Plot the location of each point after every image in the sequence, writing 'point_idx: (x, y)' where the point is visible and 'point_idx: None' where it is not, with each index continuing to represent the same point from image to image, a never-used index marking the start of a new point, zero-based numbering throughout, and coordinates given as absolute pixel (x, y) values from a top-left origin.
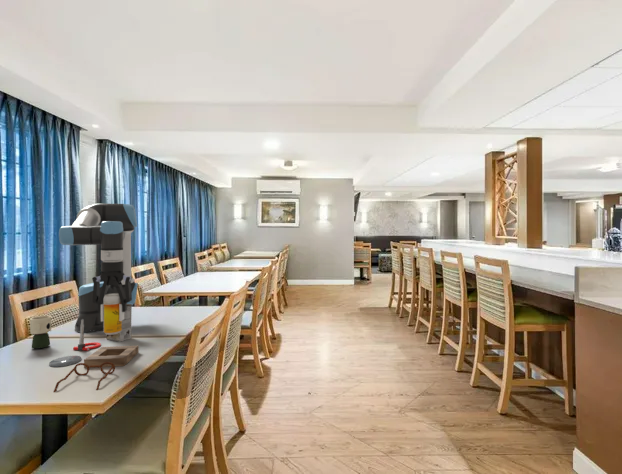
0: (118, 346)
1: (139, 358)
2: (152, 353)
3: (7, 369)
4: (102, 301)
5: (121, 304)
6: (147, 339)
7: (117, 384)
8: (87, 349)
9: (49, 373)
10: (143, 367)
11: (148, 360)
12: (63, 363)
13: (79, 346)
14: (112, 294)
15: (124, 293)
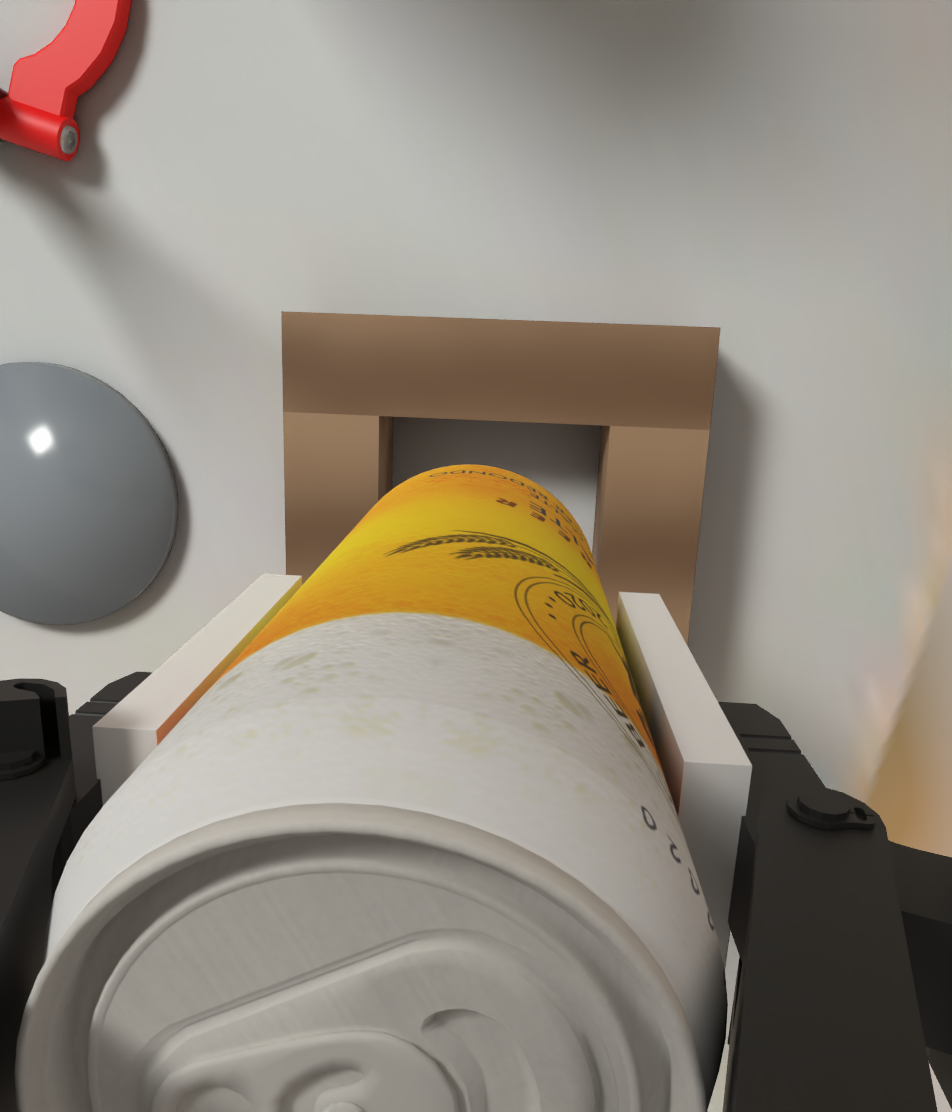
0: (476, 326)
1: (755, 520)
2: (866, 378)
3: None
4: (57, 857)
5: (723, 955)
6: None
7: (724, 1052)
8: (67, 154)
9: None
10: (849, 768)
11: (862, 595)
12: (75, 584)
13: None
14: (286, 958)
15: (926, 1076)
